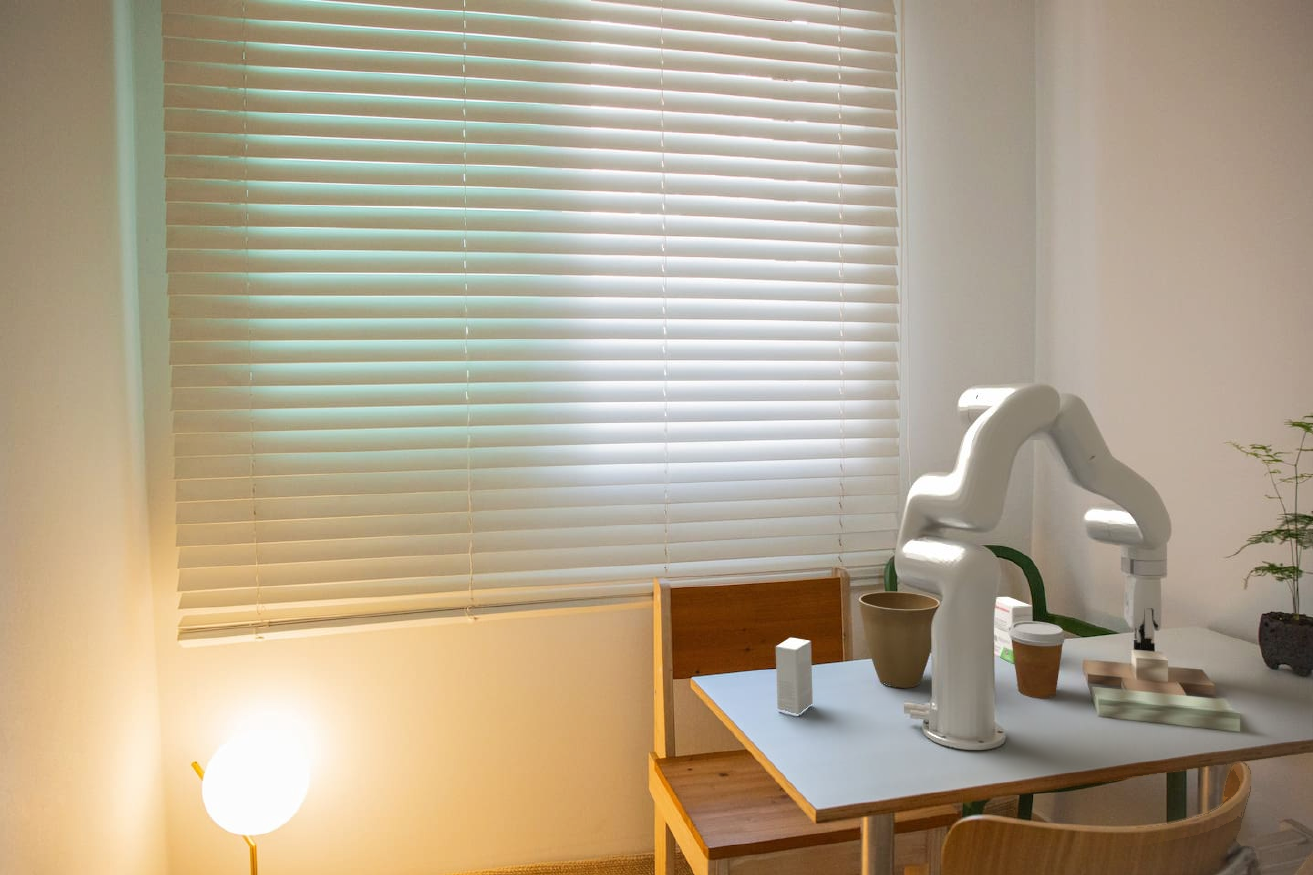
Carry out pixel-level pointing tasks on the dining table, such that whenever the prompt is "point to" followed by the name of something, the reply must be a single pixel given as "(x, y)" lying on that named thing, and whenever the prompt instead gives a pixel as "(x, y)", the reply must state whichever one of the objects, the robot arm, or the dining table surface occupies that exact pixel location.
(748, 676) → the dining table surface
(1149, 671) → the block
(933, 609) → the plant pot
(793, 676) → the skincare box
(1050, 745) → the dining table surface
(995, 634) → the ink box
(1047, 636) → the disposable coffee cup
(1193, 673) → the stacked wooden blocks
